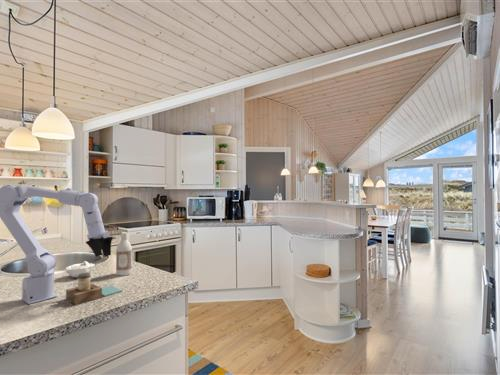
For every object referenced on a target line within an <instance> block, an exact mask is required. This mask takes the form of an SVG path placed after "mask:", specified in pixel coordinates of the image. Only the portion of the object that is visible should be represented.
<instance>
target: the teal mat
mask: <svg viewBox="0 0 500 375" xmlns="http://www.w3.org/2000/svg"><path fill="white" fill-rule="evenodd" d="M101 288H102V297H103V298H104V297H109V296H112V295H115V294H116V295H117V294H119V293H122V292H123V290H122V289H120V288H118V287H115V286H113V285H108V286H105V287H101Z"/></svg>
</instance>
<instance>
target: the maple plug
mask: <svg viewBox="0 0 500 375" xmlns="http://www.w3.org/2000/svg"><path fill="white" fill-rule="evenodd" d="M90 284H91V272H90V273H82V274H79V275H78V277H77V287H78V292H83V291H87V290H90Z"/></svg>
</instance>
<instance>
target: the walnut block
mask: <svg viewBox="0 0 500 375" xmlns="http://www.w3.org/2000/svg"><path fill="white" fill-rule="evenodd" d="M102 288H103V287H100V286H98V285H95V284H93V283H91V282H90V290H87V291H83V292H78V286H75V287H71V288H68V289H65V293H66V294H65V300H67V301H69V302H71V303H72V304H74V305H75V306H78V305H82V304H84V303H88V302H91V301H95V300H98V299H102V298H103V296H102ZM81 303H82V304H81Z"/></svg>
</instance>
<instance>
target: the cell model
mask: <svg viewBox="0 0 500 375" xmlns="http://www.w3.org/2000/svg"><path fill="white" fill-rule="evenodd" d="M95 265H96V264H95V263H92V262H88V261H86V260H84V261H83V262H81V263H75V264H71V265H69V266H67V267H65V271H66V273H67V274H68V275H69V276H70V277H72V278H78V275H79V274H82V273H90V274H91V272H92V271H93V270H94V267H95Z"/></svg>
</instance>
